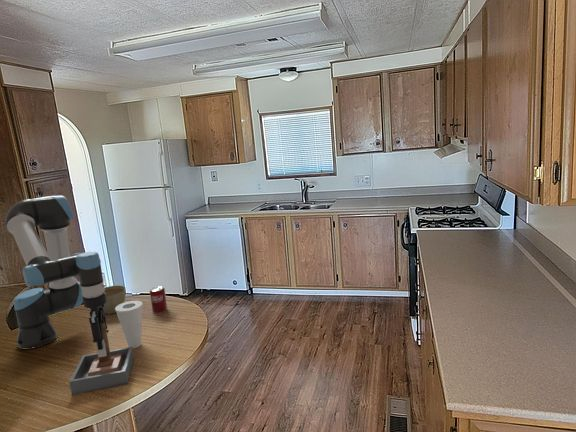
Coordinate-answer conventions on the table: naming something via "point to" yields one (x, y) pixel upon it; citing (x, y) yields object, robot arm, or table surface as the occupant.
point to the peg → (104, 333)
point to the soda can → (158, 300)
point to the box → (102, 371)
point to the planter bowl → (114, 298)
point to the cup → (131, 321)
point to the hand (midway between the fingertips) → (103, 353)
